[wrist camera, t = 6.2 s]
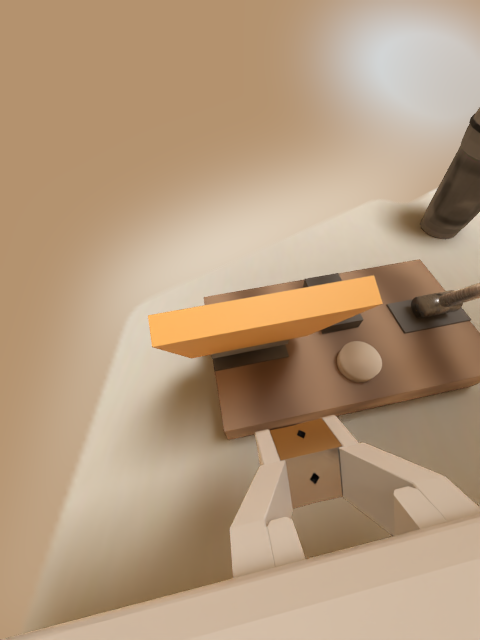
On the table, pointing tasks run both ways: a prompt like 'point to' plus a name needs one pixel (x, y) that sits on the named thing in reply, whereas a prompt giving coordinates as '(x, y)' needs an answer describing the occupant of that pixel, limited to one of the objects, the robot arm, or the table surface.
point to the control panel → (349, 357)
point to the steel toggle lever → (443, 301)
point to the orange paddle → (261, 319)
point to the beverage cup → (457, 189)
